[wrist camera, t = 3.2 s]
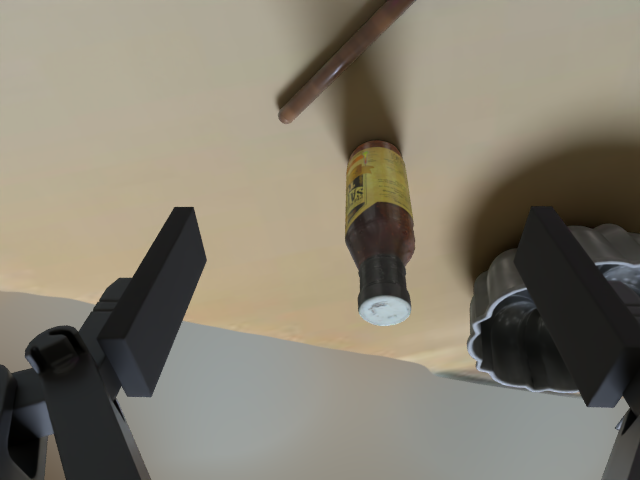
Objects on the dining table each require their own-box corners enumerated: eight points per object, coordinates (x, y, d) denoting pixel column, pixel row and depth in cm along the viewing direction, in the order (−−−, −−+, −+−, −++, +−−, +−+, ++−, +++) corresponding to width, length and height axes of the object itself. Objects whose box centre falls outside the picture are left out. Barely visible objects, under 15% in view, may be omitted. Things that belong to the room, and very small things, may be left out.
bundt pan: (415, 294, 60) (423, 355, 53) (570, 160, 44) (613, 222, 37) (545, 351, 68) (568, 411, 61) (718, 255, 52) (778, 321, 44)
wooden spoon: (300, 133, 44) (299, 141, 43) (262, 99, 41) (259, 106, 40) (514, -67, 31) (520, -64, 30) (476, -132, 29) (481, -131, 28)
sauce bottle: (349, 135, 44) (347, 276, 29) (409, 139, 43) (436, 282, 29) (344, 186, 48) (339, 330, 33) (398, 189, 48) (417, 336, 33)
